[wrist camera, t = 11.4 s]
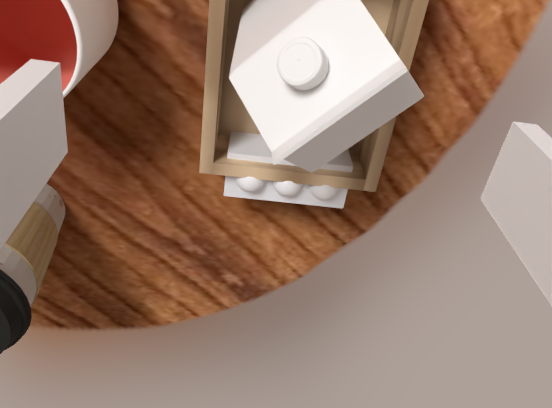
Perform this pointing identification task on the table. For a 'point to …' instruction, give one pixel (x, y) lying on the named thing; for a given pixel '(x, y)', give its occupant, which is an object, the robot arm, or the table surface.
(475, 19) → the table surface
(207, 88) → the crate
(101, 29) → the cup
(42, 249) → the coffee cup
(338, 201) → the egg box
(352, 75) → the milk carton
